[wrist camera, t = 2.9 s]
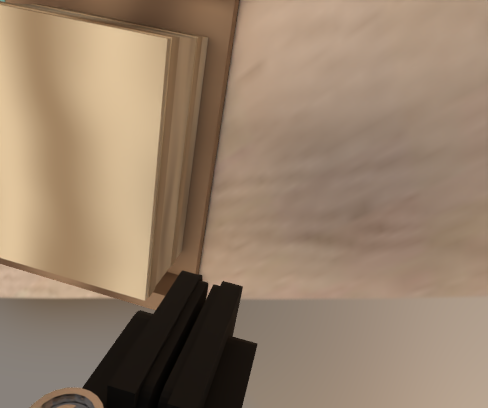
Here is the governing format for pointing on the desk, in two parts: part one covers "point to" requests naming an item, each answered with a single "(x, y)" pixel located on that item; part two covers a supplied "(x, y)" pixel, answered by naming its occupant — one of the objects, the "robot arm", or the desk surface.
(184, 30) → the bay
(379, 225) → the desk surface
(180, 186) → the cream hardcover book
